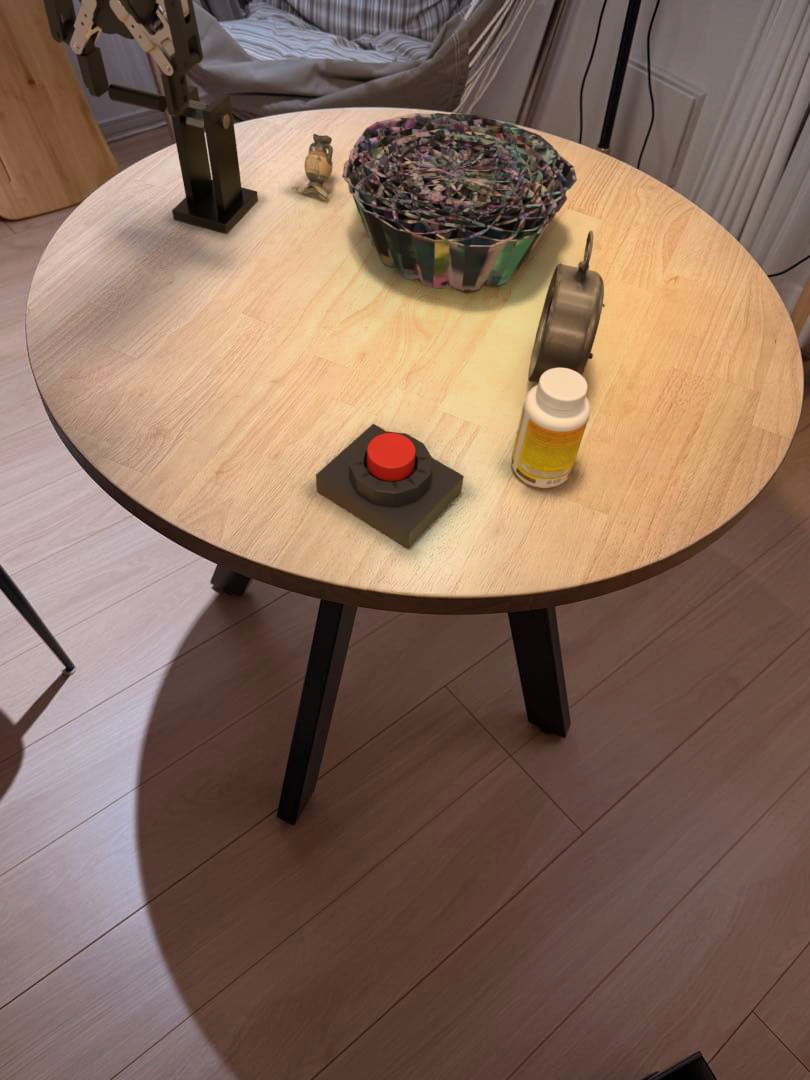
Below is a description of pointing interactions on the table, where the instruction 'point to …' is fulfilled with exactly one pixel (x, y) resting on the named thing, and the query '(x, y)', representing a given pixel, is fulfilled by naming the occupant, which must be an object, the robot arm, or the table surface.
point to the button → (391, 457)
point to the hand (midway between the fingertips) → (139, 102)
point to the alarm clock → (568, 318)
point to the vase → (318, 165)
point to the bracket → (223, 195)
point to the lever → (156, 103)
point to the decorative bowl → (455, 196)
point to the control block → (390, 489)
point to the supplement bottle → (551, 428)
